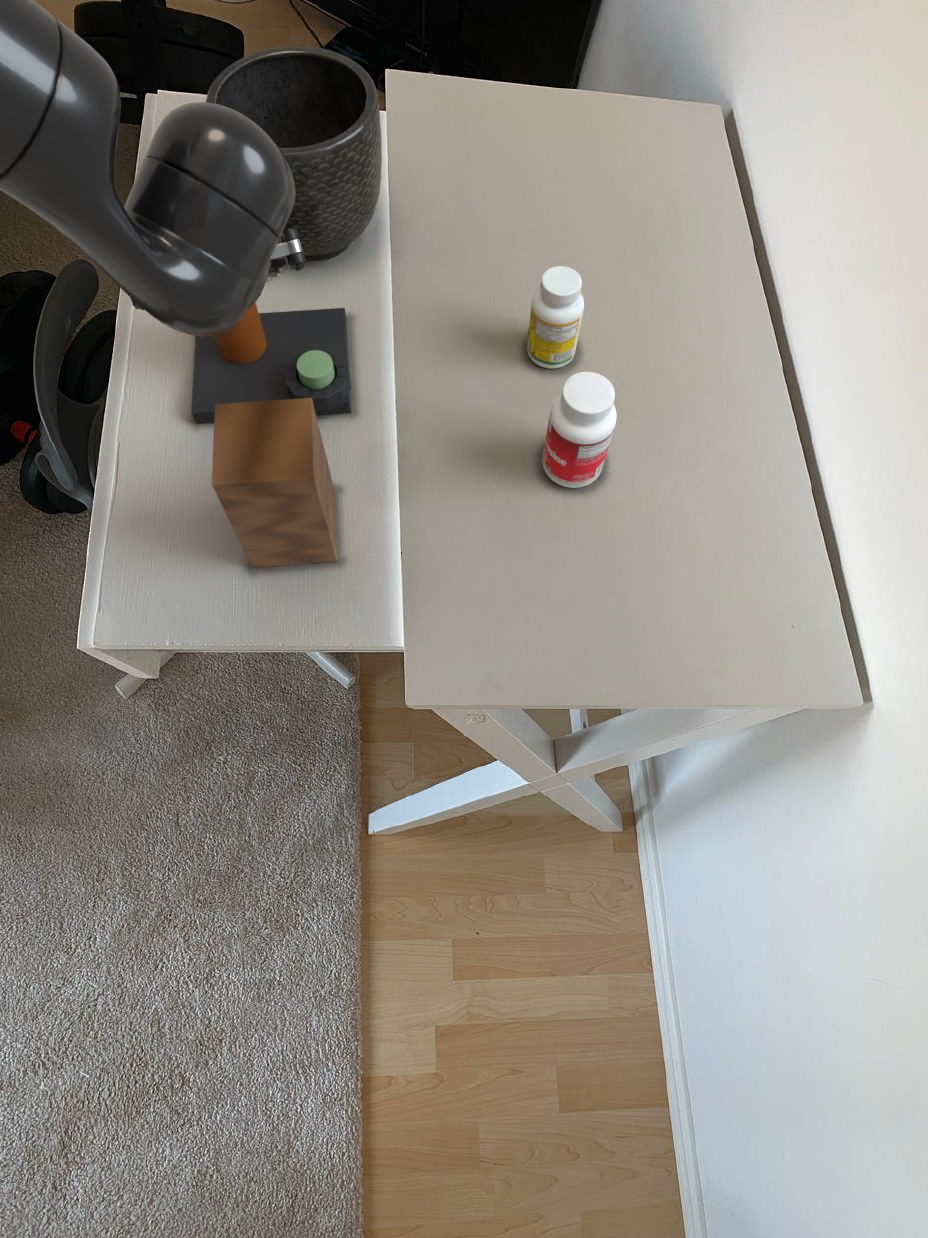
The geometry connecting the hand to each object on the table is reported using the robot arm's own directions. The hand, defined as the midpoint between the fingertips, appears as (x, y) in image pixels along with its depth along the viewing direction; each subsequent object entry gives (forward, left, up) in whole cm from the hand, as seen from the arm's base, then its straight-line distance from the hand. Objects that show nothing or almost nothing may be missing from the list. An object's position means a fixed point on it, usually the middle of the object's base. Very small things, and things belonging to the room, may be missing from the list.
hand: (218, 277), depth 70 cm
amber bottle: (-1, +5, -13) cm, 14 cm away
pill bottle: (+32, -12, -15) cm, 37 cm away
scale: (+2, +3, -15) cm, 15 cm away
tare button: (+7, -1, -12) cm, 14 cm away
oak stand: (+4, -17, -15) cm, 23 cm away
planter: (+7, +23, -15) cm, 28 cm away
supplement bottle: (+32, +3, -15) cm, 35 cm away
